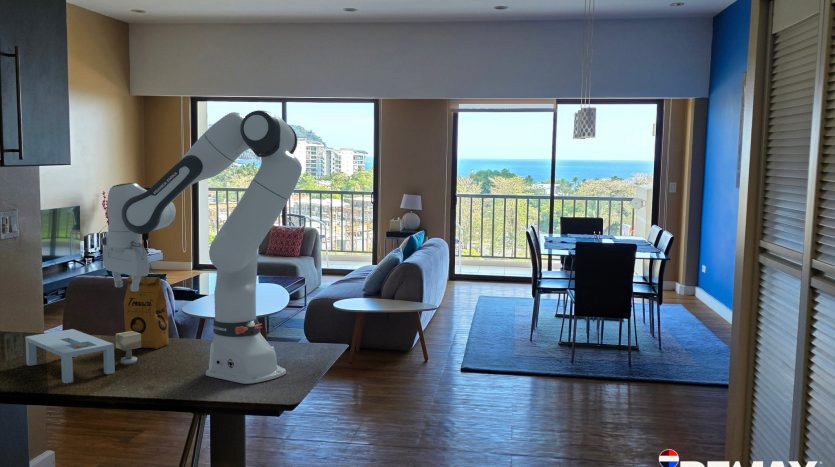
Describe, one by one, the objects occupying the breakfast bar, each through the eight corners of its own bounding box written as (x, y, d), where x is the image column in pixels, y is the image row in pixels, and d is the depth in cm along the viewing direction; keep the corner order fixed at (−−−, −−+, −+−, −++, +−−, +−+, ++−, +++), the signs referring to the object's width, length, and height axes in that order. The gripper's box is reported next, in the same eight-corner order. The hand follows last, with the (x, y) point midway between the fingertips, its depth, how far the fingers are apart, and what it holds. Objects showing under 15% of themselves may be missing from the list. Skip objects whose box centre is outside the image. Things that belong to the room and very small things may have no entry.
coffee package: (154, 351, 213) (152, 279, 211) (120, 348, 216) (117, 277, 214) (174, 343, 222) (172, 275, 220) (141, 340, 226) (139, 273, 224)
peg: (141, 362, 201) (140, 333, 200) (124, 365, 197) (123, 336, 196) (133, 359, 204) (132, 330, 203) (116, 362, 200) (115, 333, 200)
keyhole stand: (114, 372, 190) (113, 344, 190) (65, 383, 181) (64, 353, 180) (73, 355, 207) (72, 329, 207) (26, 364, 198) (25, 336, 197)
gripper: (154, 242, 193) (155, 292, 194) (119, 237, 206) (121, 283, 208) (132, 244, 188) (133, 295, 189) (98, 238, 202) (99, 286, 203)
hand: (126, 289), depth 199 cm, fingers open, 8 cm apart
